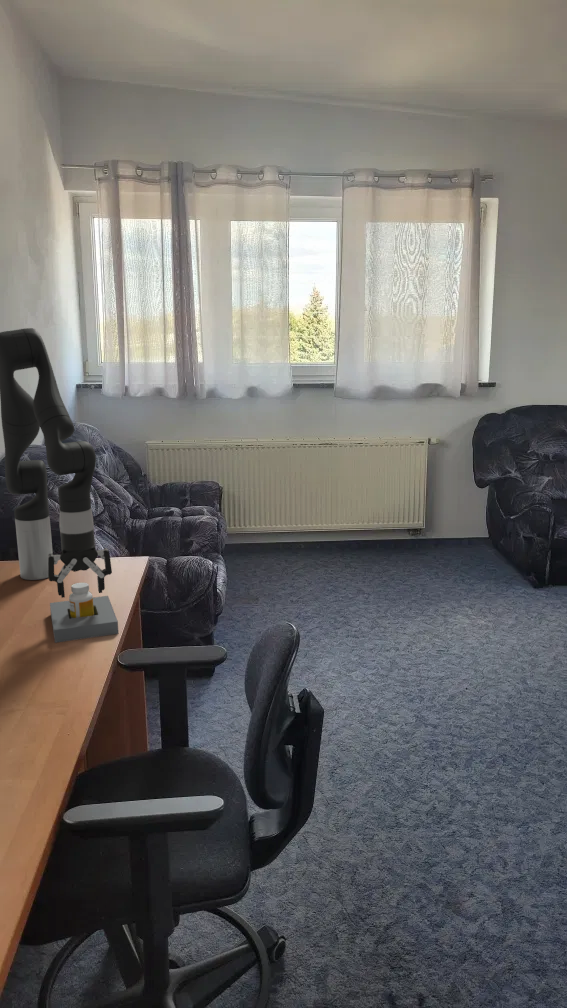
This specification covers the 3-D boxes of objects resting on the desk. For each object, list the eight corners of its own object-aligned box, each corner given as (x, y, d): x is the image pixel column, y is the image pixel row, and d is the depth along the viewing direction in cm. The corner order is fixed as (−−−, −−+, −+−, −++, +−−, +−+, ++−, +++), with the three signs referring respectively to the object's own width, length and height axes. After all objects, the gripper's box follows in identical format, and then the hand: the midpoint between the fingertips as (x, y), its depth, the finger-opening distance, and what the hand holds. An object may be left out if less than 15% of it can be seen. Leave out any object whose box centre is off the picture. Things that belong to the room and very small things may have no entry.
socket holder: (50, 614, 178) (49, 602, 177) (108, 606, 182) (108, 595, 182) (55, 642, 161) (53, 630, 160) (118, 633, 166) (117, 621, 165)
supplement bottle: (97, 619, 174) (95, 581, 172) (89, 628, 169) (87, 589, 167) (76, 619, 175) (73, 581, 172) (67, 627, 169) (64, 588, 167)
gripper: (45, 535, 161) (51, 603, 164) (110, 529, 165) (114, 595, 169) (43, 527, 167) (49, 592, 171) (106, 521, 172) (110, 585, 176)
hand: (81, 594), depth 170 cm, fingers open, 8 cm apart
